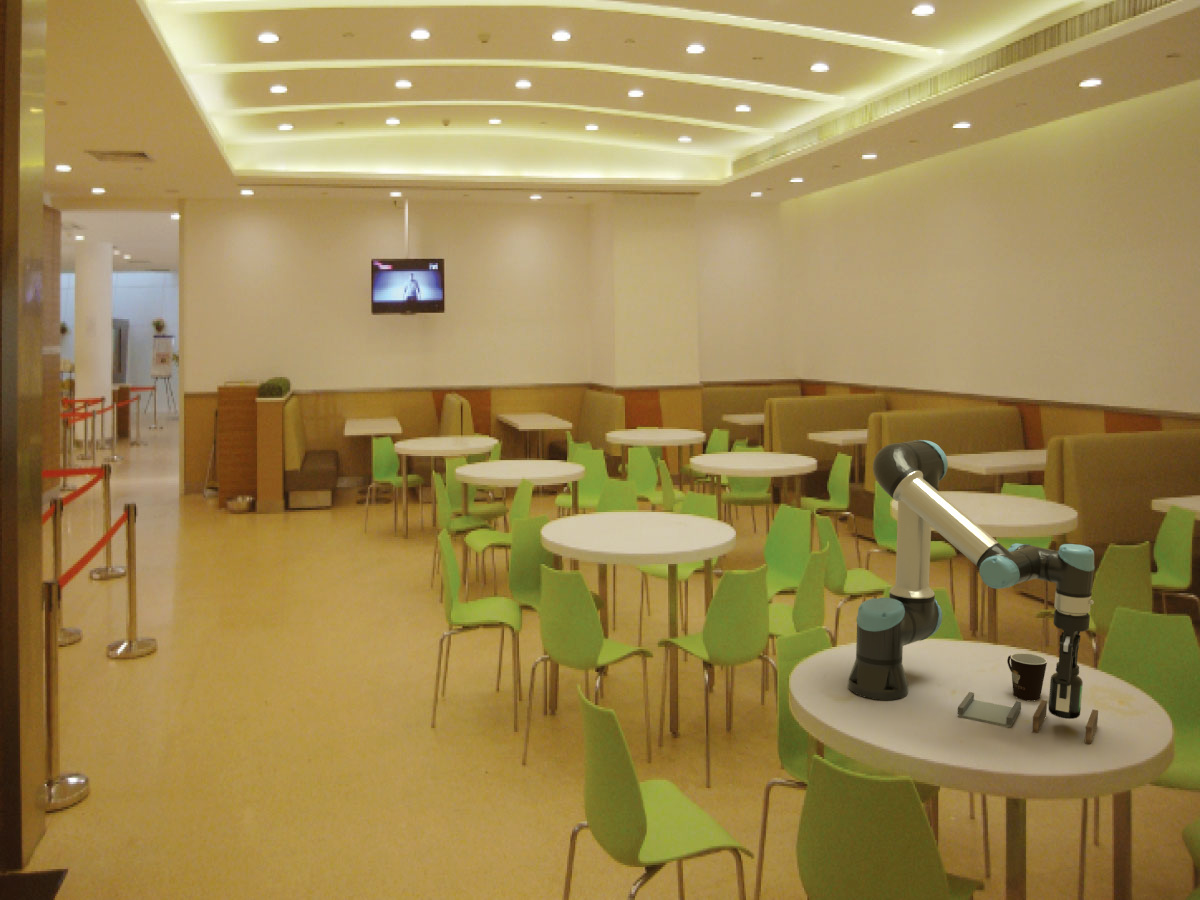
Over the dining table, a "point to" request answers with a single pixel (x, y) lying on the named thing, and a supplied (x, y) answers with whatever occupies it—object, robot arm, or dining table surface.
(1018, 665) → the coffee mug
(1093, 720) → the walnut cradle
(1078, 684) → the supplement bottle
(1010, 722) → the slate pad
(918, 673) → the dining table surface
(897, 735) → the dining table surface
